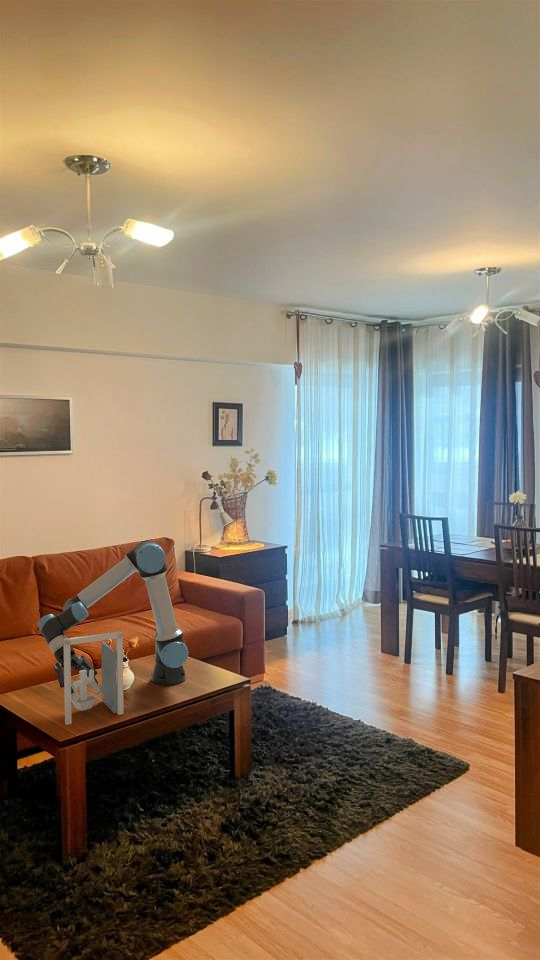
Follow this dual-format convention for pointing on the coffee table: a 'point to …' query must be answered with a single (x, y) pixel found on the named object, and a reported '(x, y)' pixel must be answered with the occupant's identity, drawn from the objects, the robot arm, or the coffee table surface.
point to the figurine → (84, 690)
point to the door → (109, 677)
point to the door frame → (67, 668)
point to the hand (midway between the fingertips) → (88, 696)
